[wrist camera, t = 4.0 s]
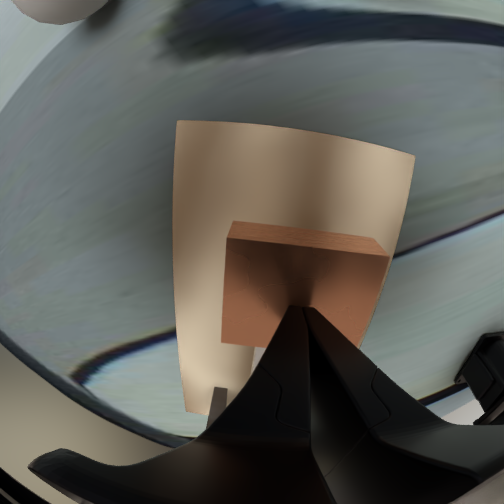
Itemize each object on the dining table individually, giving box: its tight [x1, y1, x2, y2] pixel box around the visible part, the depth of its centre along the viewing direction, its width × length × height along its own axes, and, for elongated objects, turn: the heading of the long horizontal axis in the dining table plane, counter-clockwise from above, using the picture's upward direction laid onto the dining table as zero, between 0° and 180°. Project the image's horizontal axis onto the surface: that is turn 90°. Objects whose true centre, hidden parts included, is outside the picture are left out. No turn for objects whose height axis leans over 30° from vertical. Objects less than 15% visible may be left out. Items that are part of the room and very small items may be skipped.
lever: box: [221, 221, 390, 376], centre depth 12 cm, size 5×17×2 cm, turn 174°
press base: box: [172, 120, 415, 429], centre depth 14 cm, size 12×22×8 cm, turn 174°
